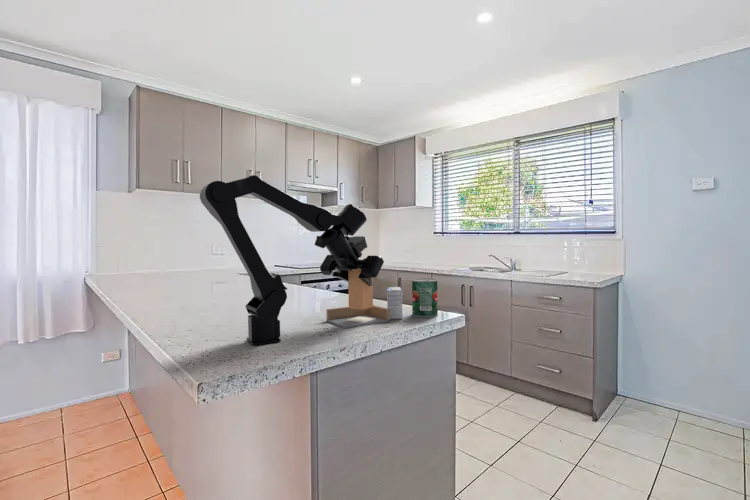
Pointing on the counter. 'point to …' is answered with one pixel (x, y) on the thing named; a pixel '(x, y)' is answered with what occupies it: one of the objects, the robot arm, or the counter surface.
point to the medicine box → (394, 302)
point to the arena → (357, 316)
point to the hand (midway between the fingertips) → (363, 284)
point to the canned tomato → (424, 298)
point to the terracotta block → (359, 291)
